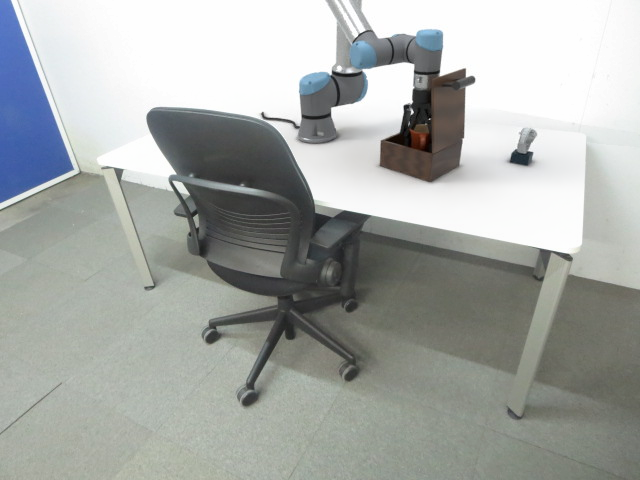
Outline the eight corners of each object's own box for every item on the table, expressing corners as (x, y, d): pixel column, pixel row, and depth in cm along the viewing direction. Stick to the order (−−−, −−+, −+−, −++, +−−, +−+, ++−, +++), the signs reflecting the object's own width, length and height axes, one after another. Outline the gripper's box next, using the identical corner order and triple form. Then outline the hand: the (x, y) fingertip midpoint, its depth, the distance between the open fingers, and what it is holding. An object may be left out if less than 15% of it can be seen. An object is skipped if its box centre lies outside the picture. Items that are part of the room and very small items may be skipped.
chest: (379, 166, 141) (380, 140, 136) (409, 151, 150) (411, 127, 146) (430, 182, 129) (432, 154, 124) (459, 165, 138) (462, 139, 133)
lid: (431, 79, 115) (451, 79, 110) (463, 68, 124) (483, 67, 120) (431, 153, 124) (450, 155, 120) (462, 137, 134) (480, 139, 129)
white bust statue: (533, 159, 140) (541, 126, 134) (525, 167, 134) (533, 133, 129) (515, 155, 143) (522, 123, 137) (507, 163, 138) (514, 130, 132)
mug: (408, 153, 144) (410, 123, 138) (434, 154, 142) (437, 124, 137) (406, 167, 134) (408, 136, 129) (435, 169, 132) (438, 137, 127)
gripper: (389, 85, 131) (387, 155, 143) (449, 95, 118) (440, 171, 130) (404, 80, 135) (400, 149, 147) (463, 89, 122) (454, 164, 134)
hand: (419, 159), depth 139 cm, fingers closed on mug, 8 cm apart
